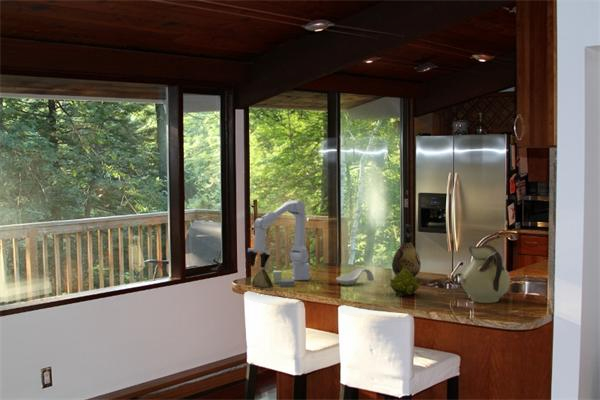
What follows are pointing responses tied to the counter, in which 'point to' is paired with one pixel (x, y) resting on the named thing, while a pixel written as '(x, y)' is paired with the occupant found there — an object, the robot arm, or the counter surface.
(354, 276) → the spoon rest
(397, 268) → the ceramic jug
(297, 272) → the robot arm
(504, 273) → the pitcher
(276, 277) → the block
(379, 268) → the counter surface
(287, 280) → the trivet
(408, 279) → the vegetable
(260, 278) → the rock
